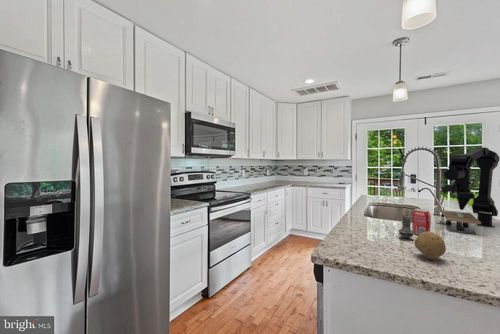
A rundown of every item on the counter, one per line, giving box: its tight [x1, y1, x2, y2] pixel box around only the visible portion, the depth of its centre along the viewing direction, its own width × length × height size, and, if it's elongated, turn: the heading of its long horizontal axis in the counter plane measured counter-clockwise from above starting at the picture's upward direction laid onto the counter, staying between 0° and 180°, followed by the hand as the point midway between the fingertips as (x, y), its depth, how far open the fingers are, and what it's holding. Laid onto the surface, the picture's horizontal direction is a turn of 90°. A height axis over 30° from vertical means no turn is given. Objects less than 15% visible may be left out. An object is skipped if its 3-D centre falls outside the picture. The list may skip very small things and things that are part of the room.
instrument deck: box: [441, 210, 481, 225], centre depth 120 cm, size 22×12×2 cm, turn 146°
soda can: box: [411, 208, 432, 236], centre depth 110 cm, size 7×7×12 cm
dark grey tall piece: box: [398, 212, 415, 242], centre depth 104 cm, size 6×6×12 cm
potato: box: [413, 231, 447, 261], centre depth 83 cm, size 9×9×10 cm
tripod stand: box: [444, 219, 477, 236], centre depth 120 cm, size 16×10×5 cm, turn 146°
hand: (461, 209), depth 116 cm, fingers closed
